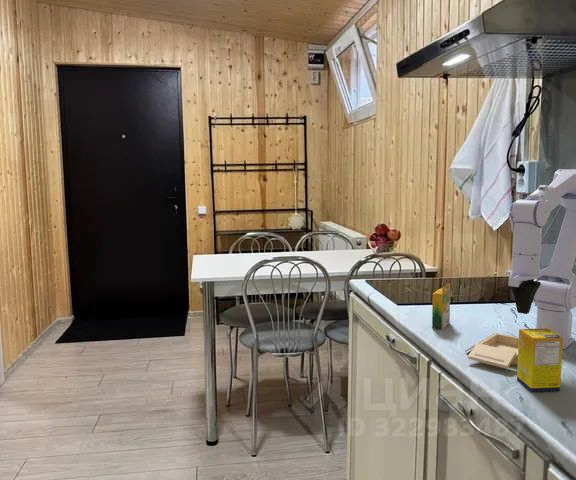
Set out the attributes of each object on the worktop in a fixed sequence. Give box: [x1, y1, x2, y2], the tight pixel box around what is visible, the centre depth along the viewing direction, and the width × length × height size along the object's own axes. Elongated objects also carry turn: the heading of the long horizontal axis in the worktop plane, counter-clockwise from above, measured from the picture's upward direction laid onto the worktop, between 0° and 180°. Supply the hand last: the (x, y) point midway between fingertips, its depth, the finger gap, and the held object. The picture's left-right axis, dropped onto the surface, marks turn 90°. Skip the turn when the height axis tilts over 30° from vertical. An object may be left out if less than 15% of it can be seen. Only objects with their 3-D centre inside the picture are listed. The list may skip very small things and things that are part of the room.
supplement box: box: [516, 328, 563, 393], centre depth 100 cm, size 6×6×11 cm
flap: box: [467, 342, 516, 370], centre depth 111 cm, size 5×9×1 cm, turn 46°
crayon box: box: [431, 282, 451, 330], centre depth 140 cm, size 7×3×12 cm, turn 147°
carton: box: [464, 332, 519, 367], centre depth 119 cm, size 15×15×2 cm
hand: (523, 312), depth 115 cm, fingers closed
